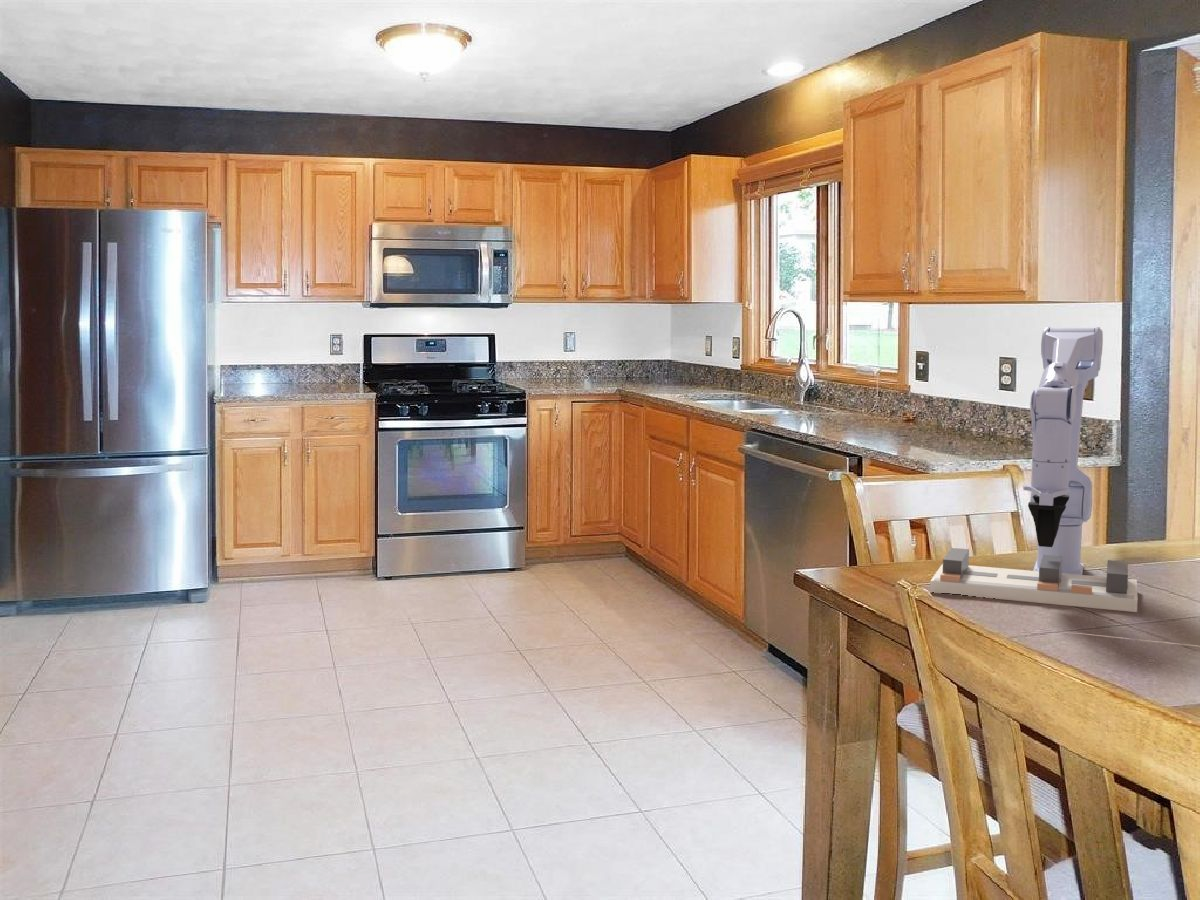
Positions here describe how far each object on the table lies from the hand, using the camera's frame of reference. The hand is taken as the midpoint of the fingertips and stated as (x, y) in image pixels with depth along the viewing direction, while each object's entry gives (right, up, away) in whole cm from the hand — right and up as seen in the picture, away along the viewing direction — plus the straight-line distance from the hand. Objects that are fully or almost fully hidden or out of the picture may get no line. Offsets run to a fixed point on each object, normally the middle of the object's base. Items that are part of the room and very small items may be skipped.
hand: (1047, 542), depth 183 cm
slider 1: (-13, -6, +7) cm, 16 cm away
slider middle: (+1, -6, +1) cm, 6 cm away
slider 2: (+10, -7, -4) cm, 12 cm away
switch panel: (-2, -8, +1) cm, 9 cm away
